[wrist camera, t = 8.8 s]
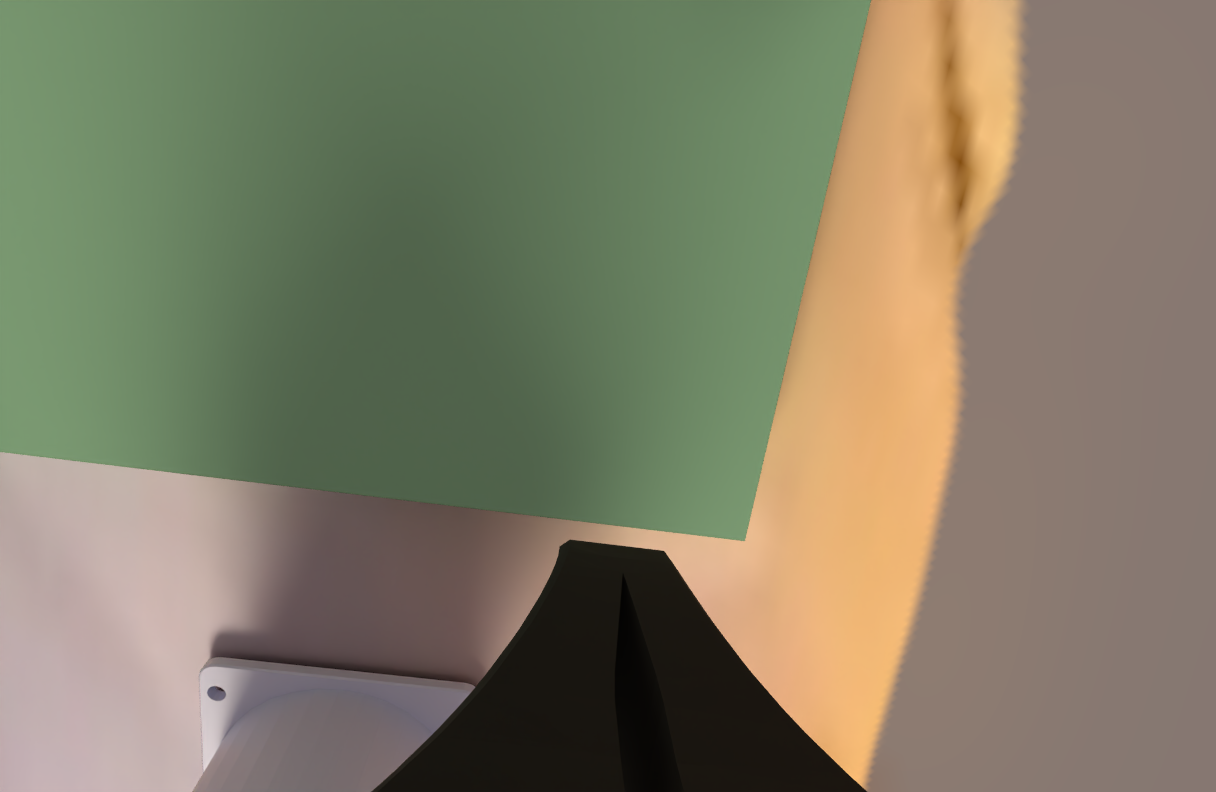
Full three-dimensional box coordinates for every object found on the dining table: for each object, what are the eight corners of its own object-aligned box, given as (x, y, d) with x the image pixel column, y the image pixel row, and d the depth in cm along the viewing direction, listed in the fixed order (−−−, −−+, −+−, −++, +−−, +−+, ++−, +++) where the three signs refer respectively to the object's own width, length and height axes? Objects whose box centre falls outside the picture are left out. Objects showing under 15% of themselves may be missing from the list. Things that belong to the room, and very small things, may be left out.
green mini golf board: (727, 493, 21) (761, 588, 17) (-467, 345, 19) (-767, 411, 15) (857, -97, 16) (949, -170, 12) (-708, -373, 14) (-1245, -573, 10)
